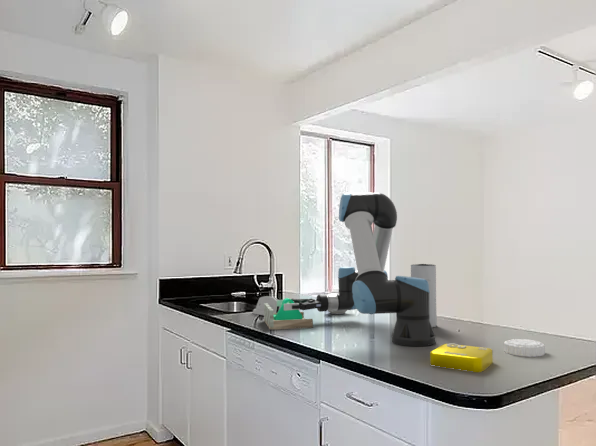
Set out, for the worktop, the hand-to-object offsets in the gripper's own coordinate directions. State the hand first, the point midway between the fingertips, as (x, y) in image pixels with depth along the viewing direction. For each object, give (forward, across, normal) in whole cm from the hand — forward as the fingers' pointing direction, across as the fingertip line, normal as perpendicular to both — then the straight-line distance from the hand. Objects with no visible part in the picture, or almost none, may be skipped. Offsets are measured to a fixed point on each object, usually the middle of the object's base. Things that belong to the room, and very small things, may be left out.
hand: (280, 305), depth 220 cm
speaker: (-56, -24, -9) cm, 62 cm away
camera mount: (-3, +2, -8) cm, 9 cm away
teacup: (-35, +20, -9) cm, 41 cm away
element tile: (-36, -83, -9) cm, 91 cm away
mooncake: (-63, -76, -9) cm, 99 cm away
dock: (-2, 0, -8) cm, 9 cm away
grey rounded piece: (-1, +32, -9) cm, 33 cm away
